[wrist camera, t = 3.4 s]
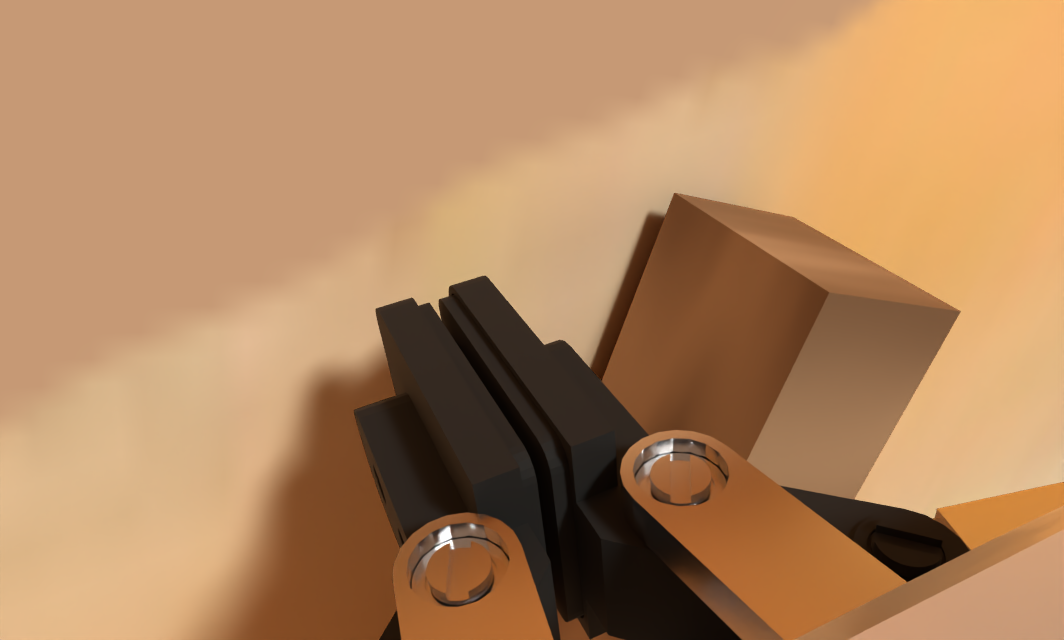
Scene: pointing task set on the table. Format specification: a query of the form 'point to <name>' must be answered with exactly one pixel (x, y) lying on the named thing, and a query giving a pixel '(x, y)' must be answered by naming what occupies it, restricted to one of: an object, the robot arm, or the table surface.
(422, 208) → the table surface
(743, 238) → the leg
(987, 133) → the table surface
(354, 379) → the table surface
